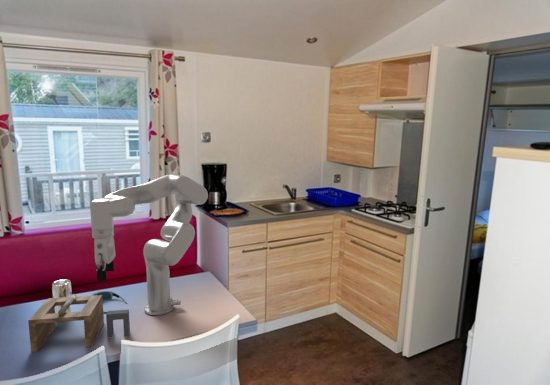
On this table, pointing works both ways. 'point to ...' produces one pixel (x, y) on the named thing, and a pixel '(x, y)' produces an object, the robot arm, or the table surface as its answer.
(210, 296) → the table surface
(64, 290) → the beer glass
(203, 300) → the table surface
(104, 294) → the sunglasses
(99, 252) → the robot arm
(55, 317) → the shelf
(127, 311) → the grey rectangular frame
